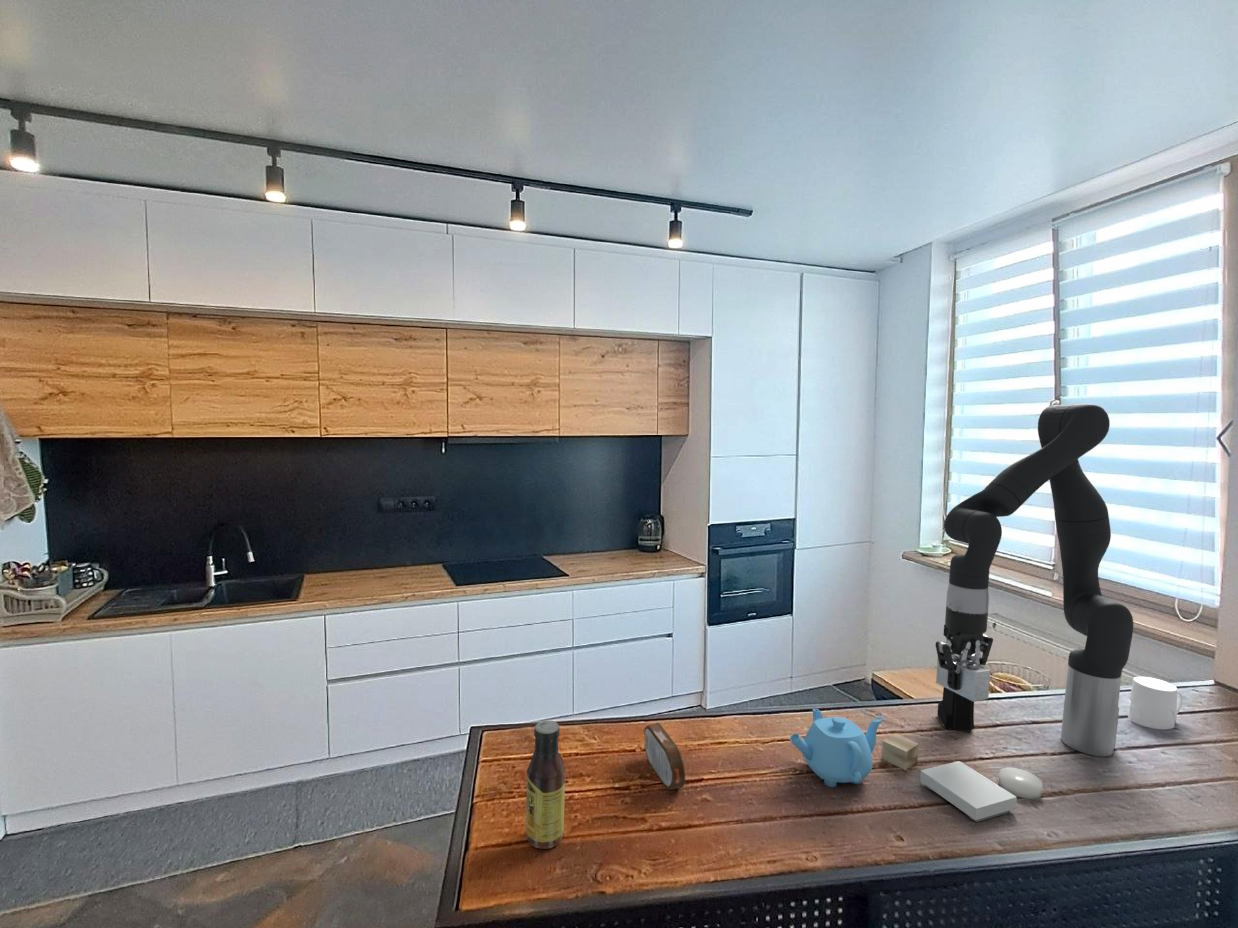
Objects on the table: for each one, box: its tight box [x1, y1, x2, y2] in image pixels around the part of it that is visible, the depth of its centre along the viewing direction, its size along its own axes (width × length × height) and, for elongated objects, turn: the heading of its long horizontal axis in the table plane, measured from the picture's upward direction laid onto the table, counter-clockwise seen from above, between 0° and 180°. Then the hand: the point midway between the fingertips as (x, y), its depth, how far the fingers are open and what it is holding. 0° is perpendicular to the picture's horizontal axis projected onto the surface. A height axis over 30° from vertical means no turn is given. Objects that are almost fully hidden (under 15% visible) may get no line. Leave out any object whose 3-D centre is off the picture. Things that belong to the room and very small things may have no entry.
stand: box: [919, 760, 1018, 823], centre depth 116 cm, size 10×12×3 cm
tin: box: [643, 722, 686, 791], centre depth 120 cm, size 15×3×8 cm, turn 19°
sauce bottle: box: [525, 719, 566, 850], centre depth 101 cm, size 6×6×20 cm
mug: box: [1127, 676, 1184, 730], centre depth 147 cm, size 12×9×8 cm
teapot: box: [789, 708, 885, 788], centre depth 122 cm, size 15×14×11 cm
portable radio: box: [937, 624, 975, 732], centre depth 142 cm, size 8×6×25 cm
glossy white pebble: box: [998, 766, 1043, 800], centre depth 120 cm, size 7×7×2 cm
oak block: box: [881, 733, 920, 771], centre depth 128 cm, size 5×5×4 cm
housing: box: [935, 654, 991, 703], centre depth 128 cm, size 4×9×7 cm, turn 21°
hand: (961, 686), depth 128 cm, fingers closed on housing, 4 cm apart
